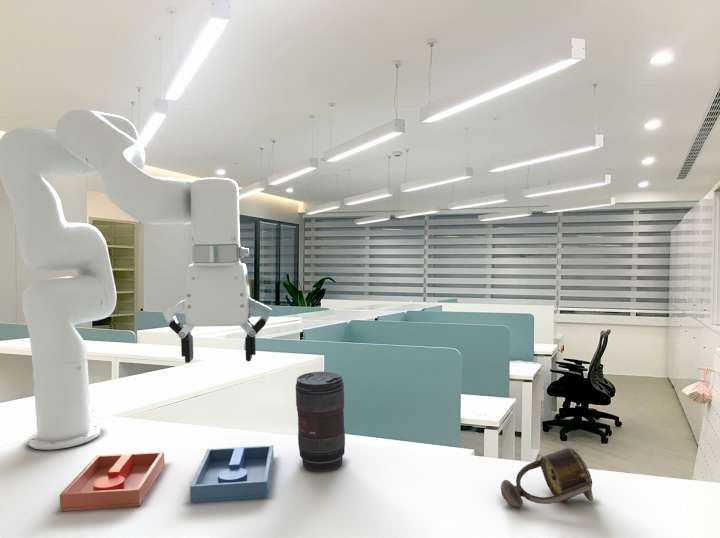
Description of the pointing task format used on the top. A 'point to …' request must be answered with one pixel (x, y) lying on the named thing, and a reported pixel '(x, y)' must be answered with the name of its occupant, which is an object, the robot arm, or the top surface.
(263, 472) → the blue tray
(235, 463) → the blue spoon
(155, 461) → the red tray
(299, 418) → the camera lens
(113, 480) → the red spoon
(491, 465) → the top surface
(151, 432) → the top surface
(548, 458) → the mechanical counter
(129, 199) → the robot arm
